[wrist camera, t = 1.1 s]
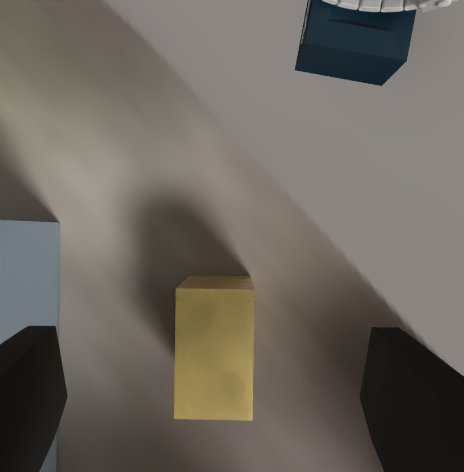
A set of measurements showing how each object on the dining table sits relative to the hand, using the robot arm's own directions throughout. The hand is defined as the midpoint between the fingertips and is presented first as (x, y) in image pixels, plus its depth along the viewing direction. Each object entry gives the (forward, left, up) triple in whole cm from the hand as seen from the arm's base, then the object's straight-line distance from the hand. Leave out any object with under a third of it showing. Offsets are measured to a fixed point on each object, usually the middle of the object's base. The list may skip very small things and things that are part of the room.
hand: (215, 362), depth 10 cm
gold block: (-2, 0, -11) cm, 12 cm away
